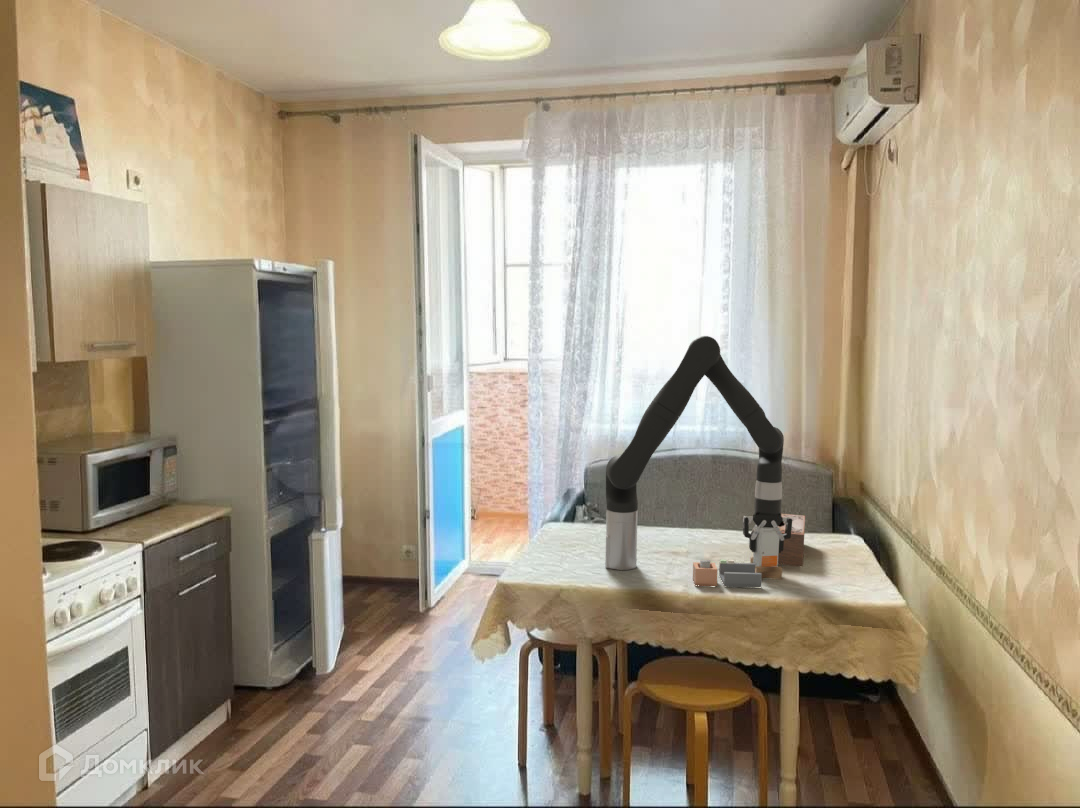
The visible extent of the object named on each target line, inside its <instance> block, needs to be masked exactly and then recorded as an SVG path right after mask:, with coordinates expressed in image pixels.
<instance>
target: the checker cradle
mask: <svg viewBox="0 0 1080 808" xmlns="http://www.w3.org/2000/svg"><path fill="white" fill-rule="evenodd" d="M718 568H719V569H718V577H719V576H720V577H719V579H720V578H721V579H720V580H722V581H721V583H722V582H723V583H722V584H724V585H723V587H724V586H729V587H728V588H735V587H761V588H762V581H763V580H762V579H763V578H762V574H761V573H755V563H750V562H735V560H734V559H720V560H719V566H718Z"/></svg>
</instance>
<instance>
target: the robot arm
mask: <svg viewBox="0 0 1080 808" xmlns="http://www.w3.org/2000/svg"><path fill="white" fill-rule="evenodd" d="M704 376H705V377H707V379H709V381H710V382H711V383H712V384H713V385H714V387H715V388H716V390H718V392H719V393H720V395H721V396H722V398H723V399H724V400H725V402H726V404H727V405H728V407H729V408H730V409H731V411H733V414H735V416H736V417H737V419H738V420H739V421H740V423H741V424H742V425H743V426H744V427H745V428H746V430H747V431H748V434H749V435H750V437H751V438H752V439H753V442H754V443H755V444H756V446H757V447H758V462H757V464H756V465H757V466H756V481H755V487H754V489H755V490H754V510H753V511H754V512H753V515H751V516H750V515H749V516H747V515H743V516H742V535H743V536H744V537H745V538H748V539H749V541H748V542H749V543H748V547H749V548H748V549H749V550H750V551H751V552H752V553H754V552H755V538H756V536H757V535H758V534H759V530H760V528H763V527H770V528H774V529H775V531H776V533H777V534H778V536H779V553H781V551H783V547H784V540H785V539H790V538H791V530H792V519H791V518H790V517H782V516H781V514H782V501H783V487H782V485H783V484H782V480H783V479H782V478H783V468H782V467H783V466H782V465H783V464H782V461H783V453H784V444H785V443H784V440H785V439H784V435H783V432H782V431H781V430H780V429H779V428H778V427H775V426H774V425H773V424H772V422H770V420H769V419H768V417H767V416H766V414H765V411H764V409H763V408H762V406H761V405H760V404H759V403H758V401H757V400H756V399H755V397H754V396H753V395H752V394H751V392H749V390H748V389H747V388H746V387H745V386H744V385H743V383H741V381H739V379H737V377H736V376H735V375H734V374H733V372H732V371H731V370H730V369H729V367H728V365H727V364H726V362H725V361H724V358H723V357H722V354H721V347H720V345H719V343H718V341H717V340H716V339H715V338H713V337H712V336H709V335H702V336H698V337H696V338H694V339H693V340H692V341H691V342H690V343H689V346H688V348H687V350H686V352H685V354H684V356H683V358H682V360H681V361H680V363H679V365H678V366H677V369H676V370H675V372H673V374H672V375H671V376H670V378H669V379H668V380H667V381H666V382H665V384H664V385H663V386H662V387H661V388H660V390H658V393H657V394H656V395H655V396H654V398H653V399H652V401H650V403H649V405H648V407H647V408H646V410H645V411H644V413H643V414H642V416H641V419H640V421H639V424H638V427H637V428H636V430H635V434H634V436H633V438H632V439H631V442H630V443H629V444H628V445H627V447H626V448H625V450H624V451H623V452H622V453H621V454H616V455H614V456H612V457H611V458H610V459H609V461H608V462H607V464H606V468H605V502H606V503H605V504H606V515H605V516H606V519H605V522H606V525H605V530H606V531H605V560H604V561H605V568H606V569H611V570H619V571H620V570H621V571H627V570H634V569H636V567H637V560H638V559H637V557H638V556H637V555H638V553H637V552H638V548H637V547H638V511H639V508H638V506H639V503H638V494H637V483H638V482H639V480H640V479H641V477H642V474H643V472H644V471H645V468H646V467H647V465H648V463H649V462H650V460H651V458H652V456H653V454H654V453H655V451H657V449H658V447H659V446H660V445H661V444H662V442H663V441H664V440H665V439H666V437H667V436H668V435H669V433H670V431H671V430H672V429H673V427H674V426H675V425H676V423H677V422H678V420H679V419H680V418H681V416H682V414H683V412H684V411H685V409H686V407H687V406H688V403H689V401H690V400H691V397H692V395H693V394H694V391H695V390H696V387H697V386H698V384H699V383H700V382H701V380H702V379H703V378H704ZM752 521H753V522H754V523H755V524H754V526H753V527H752V530H751V531H750V530H749V529H750V528H749V527H750V526H749V525H751V523H752ZM782 521H784V524H785V525H786V526H785V534H782V533H781V531H780V529H779V528H778V526H779V525H780V523H781V522H782ZM756 525H757V529H755V526H756ZM749 531H750V532H749Z"/></svg>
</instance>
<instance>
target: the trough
mask: <svg viewBox="0 0 1080 808" xmlns="http://www.w3.org/2000/svg"><path fill="white" fill-rule="evenodd" d="M749 563H753V556H751V557H750V562H749ZM755 573H761V574H762V579H763V578H772V579H771V580H782V579H783V568H782V566H778V567H768V566H755Z"/></svg>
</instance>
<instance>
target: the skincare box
mask: <svg viewBox="0 0 1080 808" xmlns="http://www.w3.org/2000/svg"><path fill="white" fill-rule="evenodd" d="M755 525H756V524H755ZM755 525H754V526H755ZM778 528H779V527H778ZM755 529H757V525H756V526H755ZM779 529H780V528H779ZM752 553H753V554H752V555H753V556H752V557H753V563H755V566H768V567H779V564H778V553H779V536H778V534H777V533H776V531H775V529H774V528H770V527H763V528H760V530H759V534H758V535H757V536H756V538H755V552H752Z"/></svg>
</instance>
